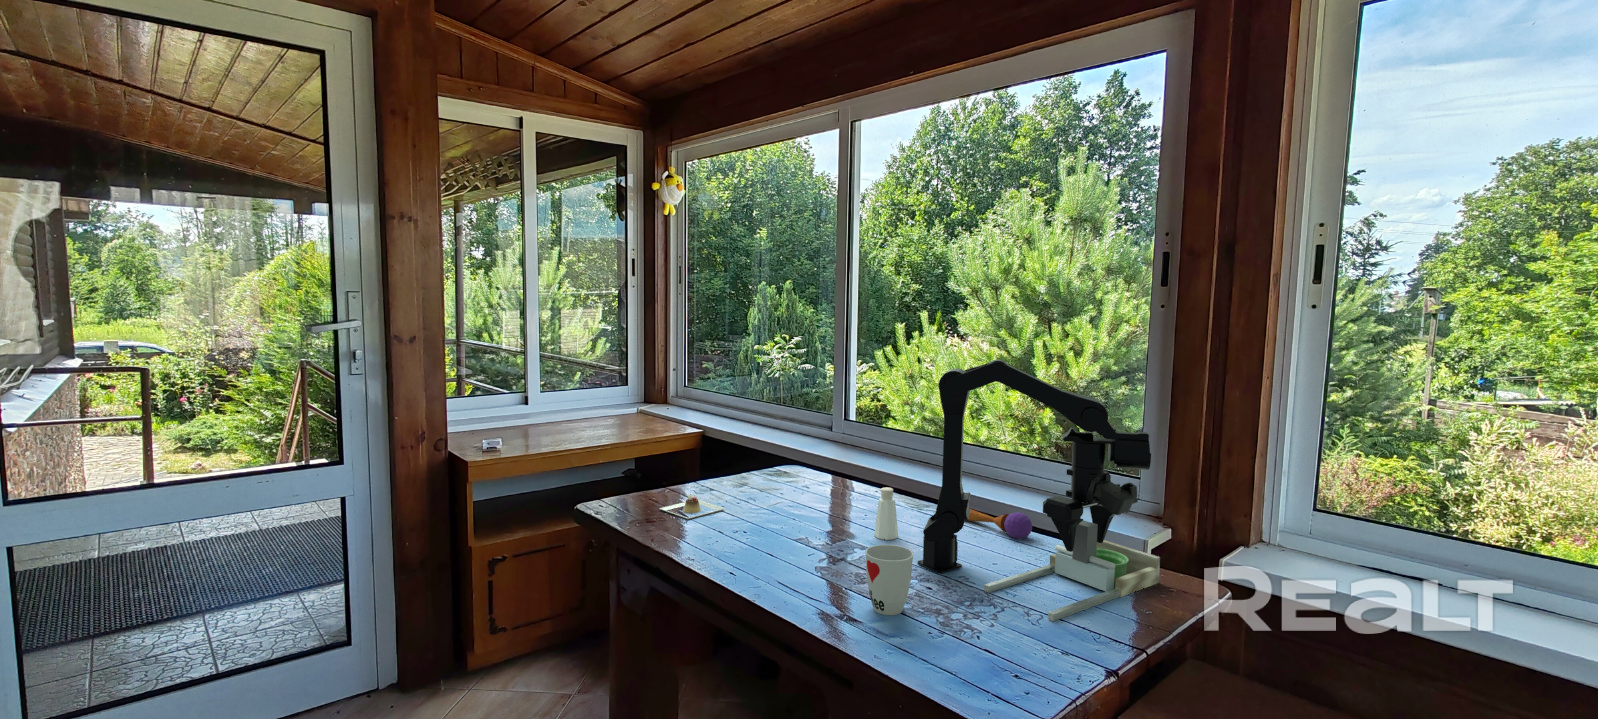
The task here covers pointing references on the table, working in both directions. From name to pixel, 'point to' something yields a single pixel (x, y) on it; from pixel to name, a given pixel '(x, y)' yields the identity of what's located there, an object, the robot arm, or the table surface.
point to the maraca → (1007, 523)
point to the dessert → (692, 507)
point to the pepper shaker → (886, 516)
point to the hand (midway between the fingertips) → (1084, 546)
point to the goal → (1138, 576)
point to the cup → (888, 577)
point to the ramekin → (1114, 561)
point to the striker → (1085, 560)
